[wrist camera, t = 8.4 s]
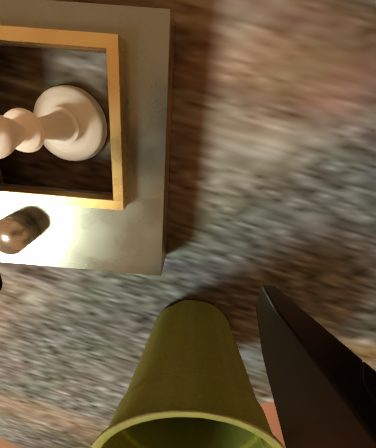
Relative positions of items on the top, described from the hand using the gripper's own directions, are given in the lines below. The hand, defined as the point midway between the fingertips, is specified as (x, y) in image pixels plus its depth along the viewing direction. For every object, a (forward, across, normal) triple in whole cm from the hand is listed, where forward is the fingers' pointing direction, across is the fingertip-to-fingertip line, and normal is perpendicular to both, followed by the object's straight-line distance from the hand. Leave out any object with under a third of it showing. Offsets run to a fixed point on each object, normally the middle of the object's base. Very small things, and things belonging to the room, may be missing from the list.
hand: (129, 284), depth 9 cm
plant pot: (+12, -3, +14) cm, 19 cm away
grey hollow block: (+12, +7, -2) cm, 14 cm away
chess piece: (+12, +7, -4) cm, 15 cm away
